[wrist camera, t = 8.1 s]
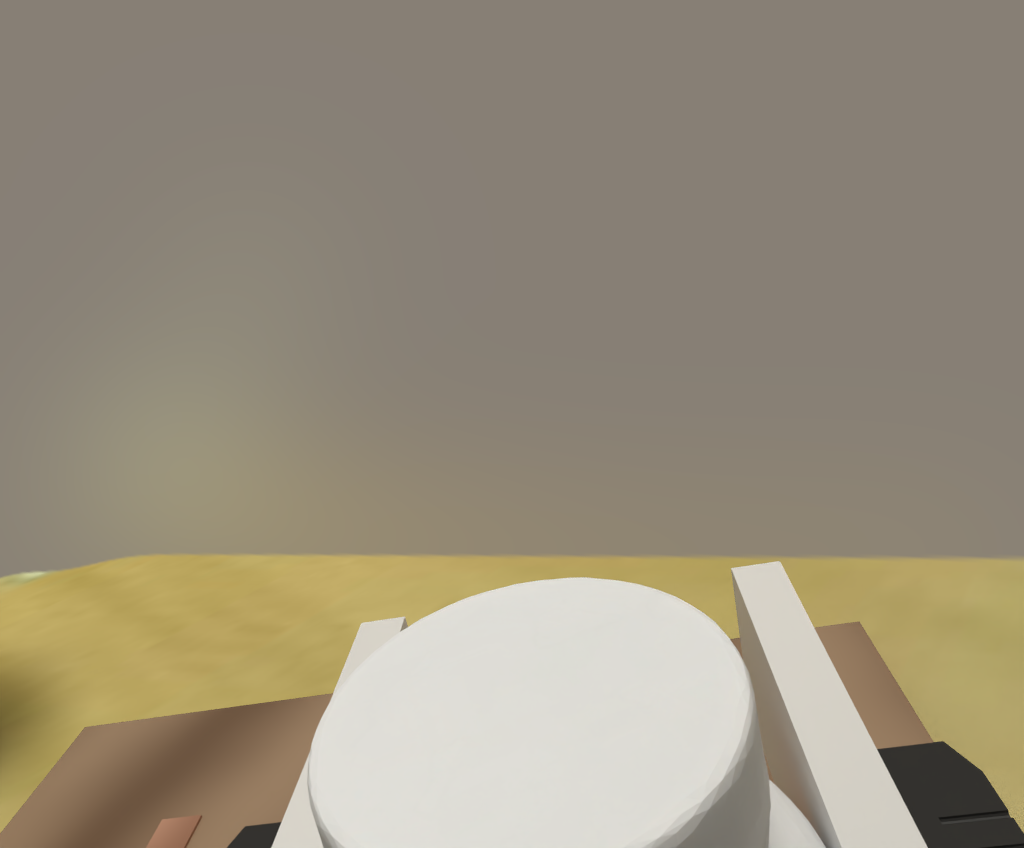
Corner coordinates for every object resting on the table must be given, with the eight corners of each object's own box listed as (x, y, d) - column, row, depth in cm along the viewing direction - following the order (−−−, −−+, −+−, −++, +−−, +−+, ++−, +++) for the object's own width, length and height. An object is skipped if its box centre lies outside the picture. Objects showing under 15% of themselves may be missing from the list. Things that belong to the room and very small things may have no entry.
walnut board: (861, 653, 21) (859, 619, 20) (1059, 993, 13) (1061, 946, 12) (97, 754, 23) (84, 725, 23) (-152, 1090, 15) (-179, 1053, 15)
